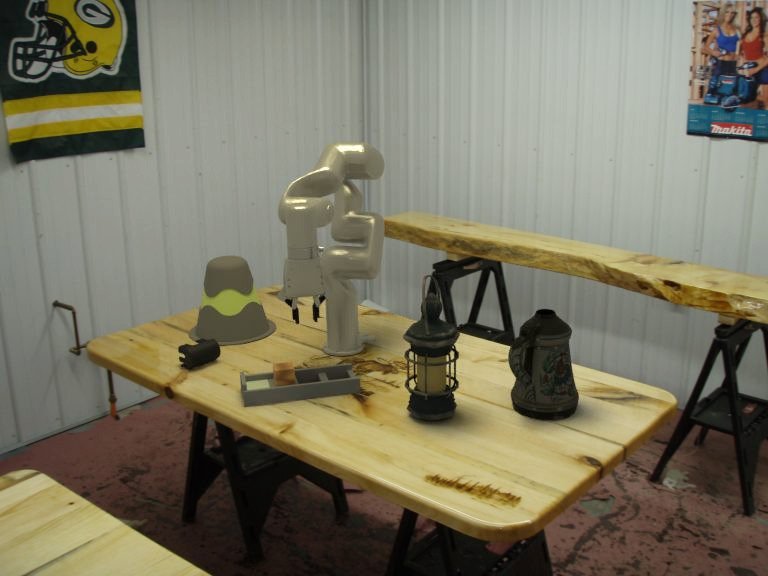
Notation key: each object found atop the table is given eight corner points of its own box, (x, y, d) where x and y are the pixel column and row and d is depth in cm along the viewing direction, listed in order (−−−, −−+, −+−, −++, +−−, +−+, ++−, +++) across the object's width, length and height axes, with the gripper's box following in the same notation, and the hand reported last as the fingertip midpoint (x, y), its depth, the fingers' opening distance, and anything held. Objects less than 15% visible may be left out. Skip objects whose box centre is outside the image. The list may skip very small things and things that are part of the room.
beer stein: (583, 398, 198) (589, 304, 191) (568, 431, 181) (573, 329, 174) (519, 388, 205) (522, 297, 198) (499, 419, 188) (501, 321, 181)
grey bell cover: (170, 335, 250) (162, 262, 243) (233, 311, 272) (228, 244, 265) (232, 352, 235) (225, 275, 228) (293, 325, 256) (289, 254, 250)
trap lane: (351, 376, 215) (351, 357, 213) (360, 392, 204) (359, 373, 203) (241, 389, 208) (239, 370, 206) (244, 406, 198) (242, 386, 196)
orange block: (292, 379, 207) (291, 361, 206) (295, 386, 203) (294, 368, 201) (273, 381, 206) (272, 363, 205) (276, 388, 202) (275, 370, 200)
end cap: (193, 373, 220) (191, 350, 218) (178, 367, 224) (176, 345, 222) (222, 362, 227) (220, 340, 225) (206, 356, 231) (204, 335, 229)
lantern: (452, 430, 183) (452, 286, 173) (397, 423, 187) (395, 283, 177) (464, 404, 196) (465, 270, 186) (413, 399, 200) (411, 267, 190)
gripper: (332, 246, 201) (335, 314, 207) (267, 251, 198) (271, 320, 203) (338, 253, 194) (341, 322, 200) (270, 258, 191) (275, 329, 196)
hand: (306, 320), depth 201 cm, fingers open, 4 cm apart
